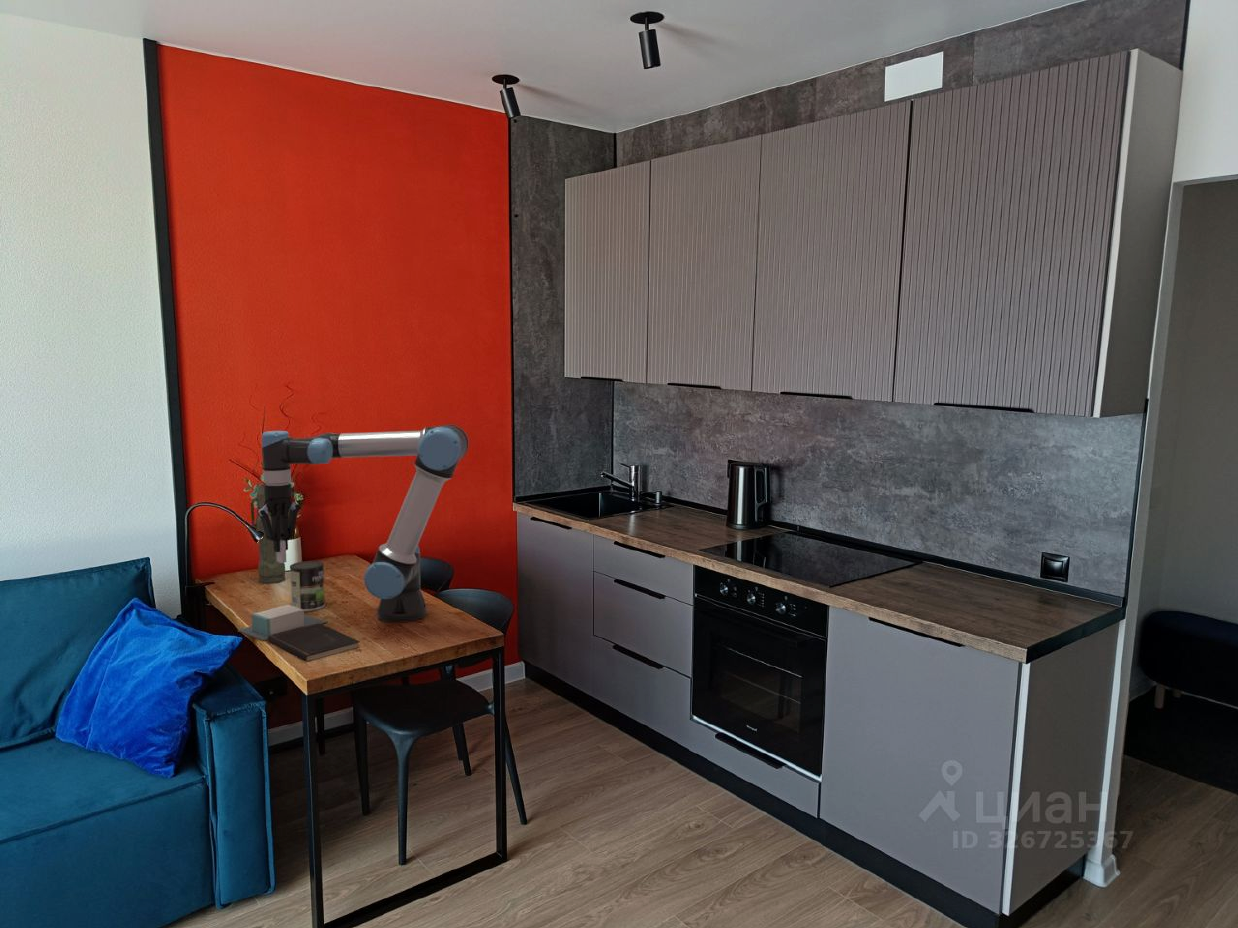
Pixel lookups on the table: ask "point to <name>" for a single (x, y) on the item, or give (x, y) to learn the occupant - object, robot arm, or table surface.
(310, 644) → the hardcover book
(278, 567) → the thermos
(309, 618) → the mat
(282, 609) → the slab
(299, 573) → the coffee can
